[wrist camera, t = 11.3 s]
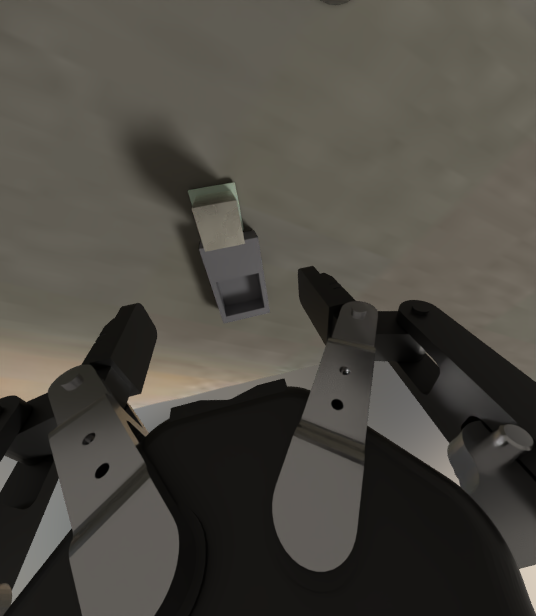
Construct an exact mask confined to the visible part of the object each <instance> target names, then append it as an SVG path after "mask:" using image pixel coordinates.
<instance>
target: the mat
mask: <svg viewBox="0 0 536 616" xmlns="http://www.w3.org/2000/svg"><path fill="white" fill-rule="evenodd" d="M228 190H231V191H232V193H233V195H234V197H235V198H236V200H237V205H238V210H239V215H240V220H241V225H242V230H244V228H243V223H242V218H241V213H240V208H239V202H238V197H237V192H236V187H235V182H232V183H226V184H220V185H215V186H209V187H203V188H198V189H192V190H188V194H189V197H190V200H191V204H192V206H193V203H194V200H195V197H196V196H200V195H205V194H211V193H217V192H223V191H228Z"/></svg>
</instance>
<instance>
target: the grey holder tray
mask: <svg viewBox="0 0 536 616" xmlns="http://www.w3.org/2000/svg"><path fill="white" fill-rule="evenodd" d="M243 236H244V241H245V244H242V245H237V246H232V247H227V248H222V249H217V250H212V251H207V252H205V250H204V247H203V244H202V241H200V245H199V251H200V254H201V257H202V260H203V263H204V266H205V269H206V272H207V275H208V278H209V281H210V284H211V287H212V290H213V293H214V296H215V299H216V302H217V305H218V308H219V311H220V314H221V317H222V320H223V323H228V322H232V321H236V320H241V319H245V318H249V317H253V316H257V315H262V314H266V313H270V309H269V303H268V297H267V291H266V284H265V278H264V272H263V266H262V259H261V253H260V247H259V240H258V236H257V235H256V233H255V231H254V230H252V231H247V232H243Z"/></svg>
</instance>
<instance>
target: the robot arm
mask: <svg viewBox="0 0 536 616" xmlns="http://www.w3.org/2000/svg"><path fill="white" fill-rule="evenodd" d="M320 1H323V2H325V3H327V4H330V5H340V4H343V3H347V2H349V1H350V0H320ZM298 286H299V298H300V302H301V304H302V306H303V308H304V310H305V311H306V313H307V315H308V316H309V318H310V320H311V322H312V323H313V325H314V327H315V328H316V330H317V332H318V333H319V335H320V337H321V339H322V340H323V342H324V344H325V345H326V347H325V350H324V353H323V356H322V359H321V362H320V365H319V368H318V371H317V374H316V377H315V380H314V383H313V386H312V389H311V391H310V390H307V389H304V388H300V387H287V385H286V382H285V379H280V380H276V381H272V382H268V383H265V384H261V385H257V386H255V387H253V388H252V389H250V390H248V391H246V392H244V393H242V394H240V395H238V396H236V397H234V398H233V399H230V400H200V401H196V402H192V403H188V404H185V405H181V406H177V407H173V408H171V412H170V419H168V420H166V421H165V422H163V423H162V424H160V425H158V426H157V427H156V428H155V429H153V430H152V431H151V432H150V433H149V432H148V431H147V430H146V428H145V427H144V425H143V424H142V422H141V421H140V419H139V418H138V416H137V415H136V413H135V412H134V410H133V409H132V407H131V406H130V405H129V404H128V403H127V401H128V398H129V397H130V396H134V395H137V394H141V392H142V388H143V385H144V381H145V378H146V374H147V371H148V367H149V364H150V361H151V357H152V354H153V350H154V347H155V343H156V340H157V331H156V328H155V325H154V324H153V322H152V320H151V319H150V317H149V315H148V314H147V312H146V310H145V309H144V307H143V306H142V304H140V303H136V304H131V305H127V306H122V307H121V308H120V310H119V312H118V314H117V315H116V317H115V318H114V319H112V320H111V321H110V322H109V323H108V324H107V325H106V326H105V327H104V328H103V330H102V332H101V333H100V336H99V337H98V338H97V340H96V343H94V345H93V346H92V348H91V350H90V351H89V353H88V355H87V356H86V358H85V360H84V361H83V363H82V365H80V366H77V367H74V368H72V369H70V370H68V371H66V372H65V373H63V374H62V375H61V376H59V377H58V378H57V379H56V380H55V381H54V382H53V383H52V384H51V386H50V387H49V390H48V393H46V394H44V395H41V396H39V397H37V398H35V399H32V400H30V401H28V402H25V401H24V400H22V399H21V398H19V397H17V396H7V397H4V398H1V399H0V461H1V460H2V458H3V457H4V455H5V456H7V457H9V458H11V459H14V460H16V461H18V462H17V464H16V466H15V467H14V469H13V471H12V473H11V475H10V476H9V478H8V480H7V482H6V483H5V485H4V487H3V488H2V490H1V492H0V616H536V613H535V611H534V609H533V606H532V604H531V601H530V599H529V596H528V593H527V590H526V587H525V584H524V582H523V579H522V576H521V574H520V571H519V569H520V568H524V567H528V566H532V565H535V564H536V382H535V381H533V380H532V379H531V378H529V377H528V376H527V375H526V374H524V373H523V372H522V371H520V370H519V369H518V368H516V367H515V366H514V365H512V364H511V363H510V362H508V361H507V360H506V359H504V358H503V357H502V356H501V355H499V354H498V353H497V352H495V351H494V350H493V349H491V348H490V347H489V346H487V345H486V344H485V343H483V342H482V341H481V340H479V339H478V338H477V337H476V336H474V335H473V334H472V333H470V332H469V331H468V330H466V329H465V328H464V327H462V326H461V325H460V324H458V323H457V322H456V321H454V320H453V319H452V318H451V317H449V316H448V315H447V314H445V313H444V312H443V311H441V310H440V309H439V308H437V307H436V306H434V305H432V304H430V303H428V302H424V301H419V300H409V301H405V302H403V303H401V304H400V306H399V309H398V311H377V309H376V308H375V307H374V306H372V305H371V304H369V303H366V302H361V301H355V300H354V299H353V297H352V296H351V295H350V294H349V293H348V292H347V291H346V290H345V289H344V288H343V287H342V286H341V285H340V284H339V283H338V282H337V281H336V280H335V279H334V278H333V277H332V276H330V275H328V274H326V273H321V274H320V273H319V272H318V271H317V270H316V269H315V267H314V266H310V267H305V268H300V269H299V270H298ZM425 352H427V353H428V354H429V355H430V356H431V357H432V358H433V359H434V360H435V361H436V363H437V364H438V366H439V367H438V366H437V365H436V364H435V363H434V362H433V361H432V359H431V358H430V357H429V356H428V355H427V354H426V353H425ZM374 361H388V362H389V363H390V365H391V366H392V367H393V369H394V370H395V371H396V373H397V374H398V375H399V377H400V378H401V379H402V381H403V382H404V383H405V385H406V386H407V387H408V389H409V390H410V391H411V393H412V394H413V395H414V396H415V398H416V399H417V401H418V402H419V403H420V405H421V406H422V407H423V409H424V410H425V411H426V413H427V414H428V415H429V416H430V418H431V419H432V421H433V422H434V423H435V425H436V426H437V427H438V429H439V430H440V431H441V433H442V434H443V435H444V437H445V438H446V439H447V441H448V442H449V445H448V449H447V453H448V458H449V461H450V464H451V465H452V467H453V469H454V472H455V475H456V476H457V478H458V479H459V482H460V486H458V485H457V484H456V483H454V482H453V481H452V480H450V479H449V478H447V477H446V476H444V475H443V474H441V473H440V472H438V471H437V470H435V469H433V468H432V467H430V466H429V465H427V464H426V463H424V462H423V461H421V460H420V459H418V458H417V457H415V456H413V455H412V454H410V453H409V452H407V451H406V450H404V449H403V448H401V447H400V446H398V445H396V444H395V443H393V442H392V441H390V440H389V439H387V438H386V437H384V436H383V435H381V434H379V433H378V432H376V431H375V430H373V429H372V428H370V427H369V426H367V421H368V413H369V412H368V411H369V404H370V395H371V386H372V377H373V368H374ZM58 479H59V480H60V484H61V488H62V491H63V495H64V499H65V503H66V507H67V511H68V514H69V518H70V522H71V526H72V529H71V530H70V531H69V533H68V534H67V535H66V536H65V538H64V539H63V540H62V541H61V543H60V544H59V545H58V546H57V548H56V549H55V550H54V551H53V553H52V554H51V555H50V556H49V558H48V559H47V560H46V562H45V563H44V564H43V565H42V567H41V568H40V569H39V570H38V572H37V573H36V574H35V575H34V577H33V578H32V579H31V581H30V582H29V583H28V584H27V586H26V587H25V588H24V589H23V591H22V592H21V593H20V594H19V596H18V597H17V598H16V600H15V601H14V602H13V603H12V604H11V602H12V589H13V586H14V584H15V582H16V579H17V577H18V574H19V572H20V570H21V567H22V565H23V563H24V560H25V557H26V555H27V553H28V550H29V548H30V546H31V543H32V541H33V539H34V536H35V534H36V531H37V529H38V527H39V524H40V522H41V519H42V517H43V515H44V512H45V510H46V507H47V505H48V503H49V500H50V497H51V495H52V493H53V491H54V488H55V486H56V483H57V481H58Z"/></svg>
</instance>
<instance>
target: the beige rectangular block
mask: <svg viewBox="0 0 536 616" xmlns="http://www.w3.org/2000/svg"><path fill="white" fill-rule="evenodd" d="M192 212H193V215H194V218H195V221H196V224H197V228H198V231H199V234H200V237H201V240H202V244H203V247H204V250H205V252H207V251H212V250H217V249H222V248H227V247H232V246H237V245H242V244H245V241H244V236H243V231H242V225H241V220H240V215H239V210H238V205H237V200H236V198H235V197H234V195H233V193H232V191H231V190H228V191H223V192H217V193H211V194H205V195H200V196H196V197H195V200H194V203H193V206H192Z"/></svg>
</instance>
